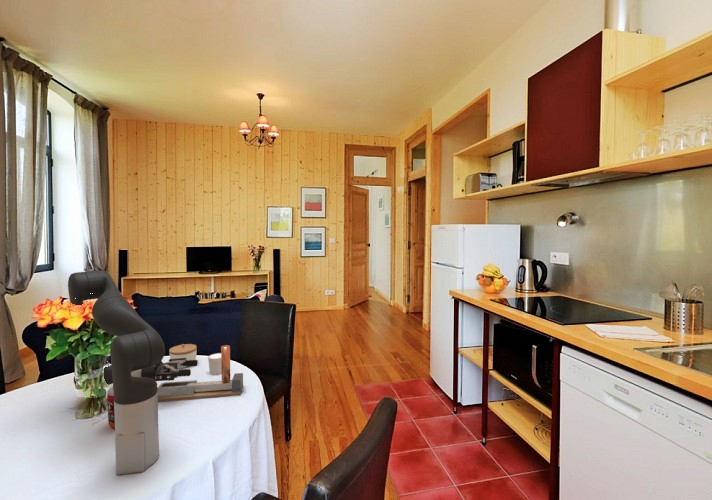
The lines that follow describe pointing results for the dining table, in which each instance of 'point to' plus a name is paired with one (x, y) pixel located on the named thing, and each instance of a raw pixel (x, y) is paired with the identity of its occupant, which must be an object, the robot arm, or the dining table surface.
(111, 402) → the canned food
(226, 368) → the sliding bolt with handle
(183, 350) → the lidded jar
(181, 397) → the plank
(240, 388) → the socket block
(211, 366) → the beige cylindrical piece
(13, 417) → the dining table surface
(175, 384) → the guide sleeve
